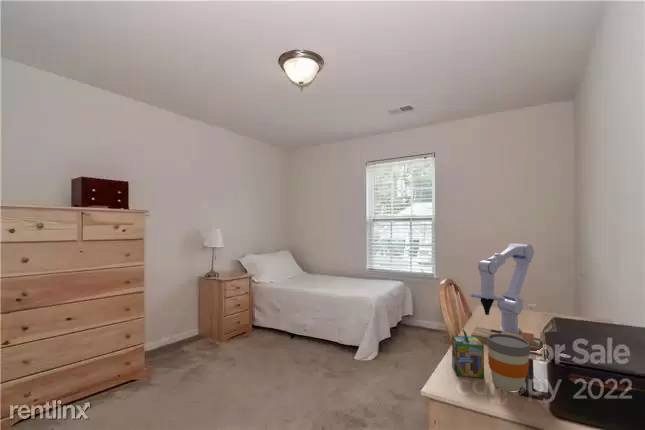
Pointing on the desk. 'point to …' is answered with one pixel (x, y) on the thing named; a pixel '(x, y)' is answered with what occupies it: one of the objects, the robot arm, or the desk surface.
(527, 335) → the block
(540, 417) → the desk surface
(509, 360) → the reusable coffee cup
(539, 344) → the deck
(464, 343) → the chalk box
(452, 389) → the desk surface
